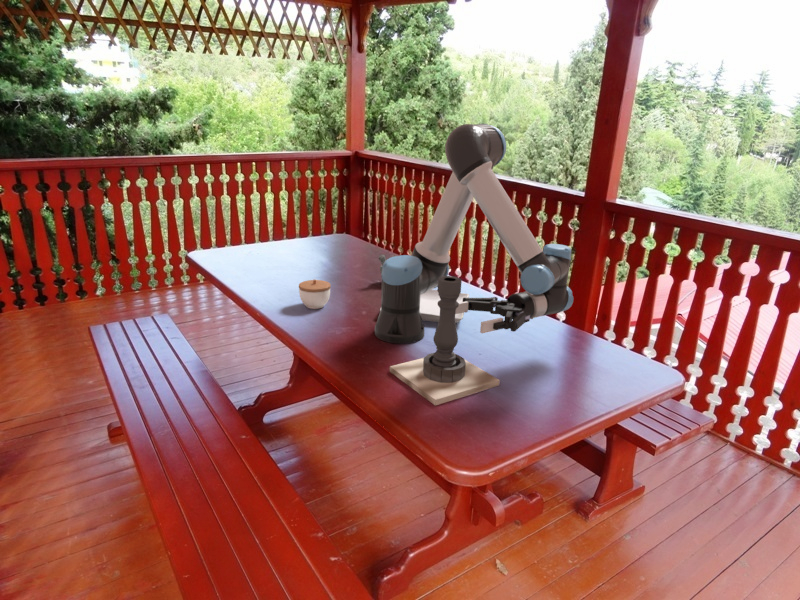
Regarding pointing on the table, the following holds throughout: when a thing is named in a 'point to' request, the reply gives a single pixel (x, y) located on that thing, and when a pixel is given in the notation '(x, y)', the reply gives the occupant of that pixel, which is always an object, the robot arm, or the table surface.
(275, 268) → the table surface
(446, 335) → the candle holder
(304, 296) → the lidded jar
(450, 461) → the table surface
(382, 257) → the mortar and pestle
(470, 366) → the socket board
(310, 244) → the table surface
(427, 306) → the square plate
